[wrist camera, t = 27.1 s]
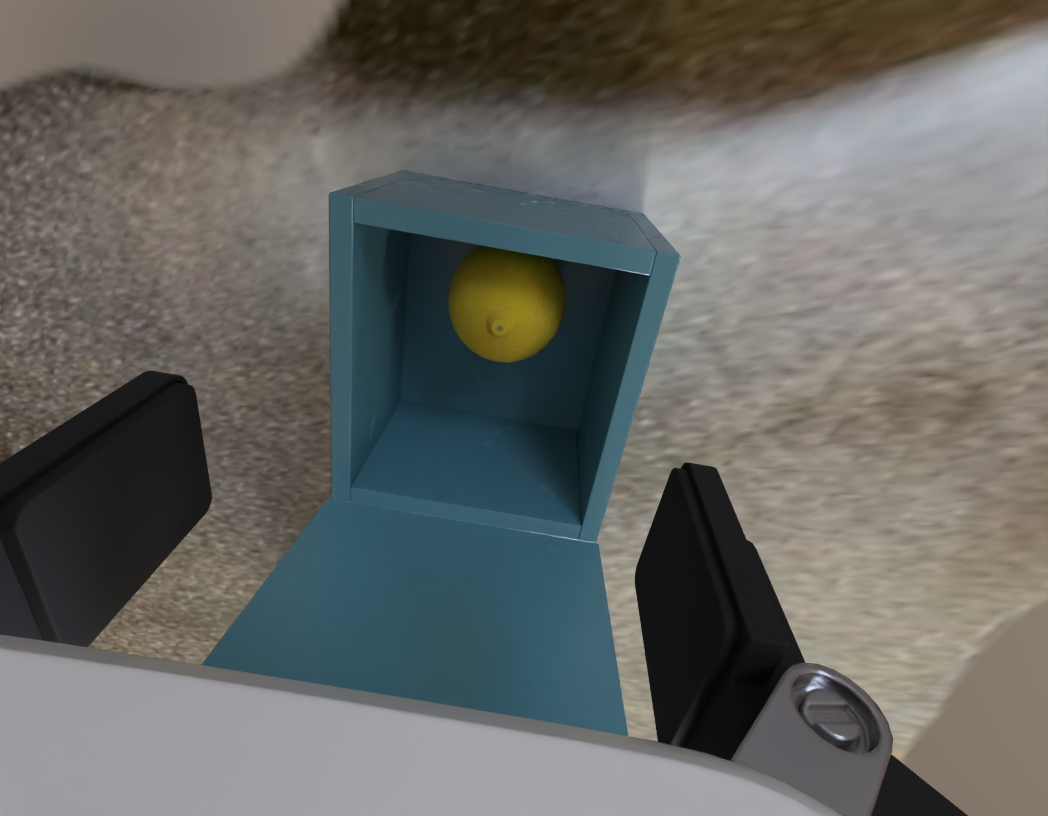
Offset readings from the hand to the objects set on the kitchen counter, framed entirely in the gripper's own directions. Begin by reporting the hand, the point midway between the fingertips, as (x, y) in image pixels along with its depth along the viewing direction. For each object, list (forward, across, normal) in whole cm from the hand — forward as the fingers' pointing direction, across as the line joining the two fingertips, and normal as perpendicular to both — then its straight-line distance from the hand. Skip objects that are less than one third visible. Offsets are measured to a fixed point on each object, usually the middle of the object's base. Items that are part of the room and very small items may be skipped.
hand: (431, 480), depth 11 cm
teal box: (+21, 0, +4) cm, 22 cm away
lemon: (+21, 0, +2) cm, 21 cm away
